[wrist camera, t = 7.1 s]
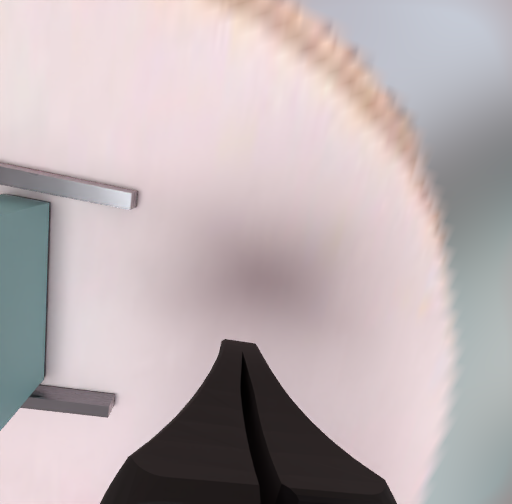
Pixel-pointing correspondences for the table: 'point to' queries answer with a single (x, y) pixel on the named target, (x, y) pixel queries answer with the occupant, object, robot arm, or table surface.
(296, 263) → the table surface
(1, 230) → the block
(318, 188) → the table surface
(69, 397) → the vise
